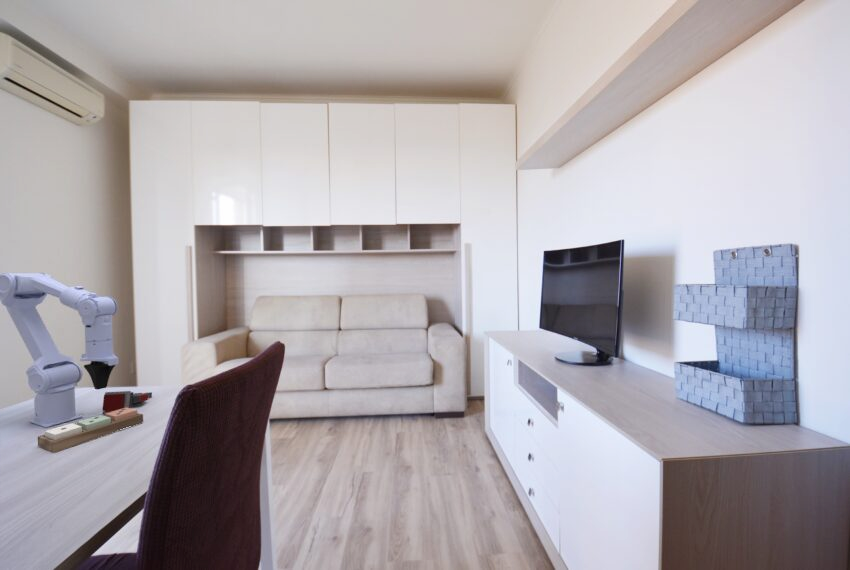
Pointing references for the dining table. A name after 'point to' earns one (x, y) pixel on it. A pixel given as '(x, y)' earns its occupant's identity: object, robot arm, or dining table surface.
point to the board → (87, 434)
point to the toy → (122, 400)
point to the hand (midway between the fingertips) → (100, 388)
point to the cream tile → (63, 431)
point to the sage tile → (94, 422)
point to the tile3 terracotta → (121, 414)
